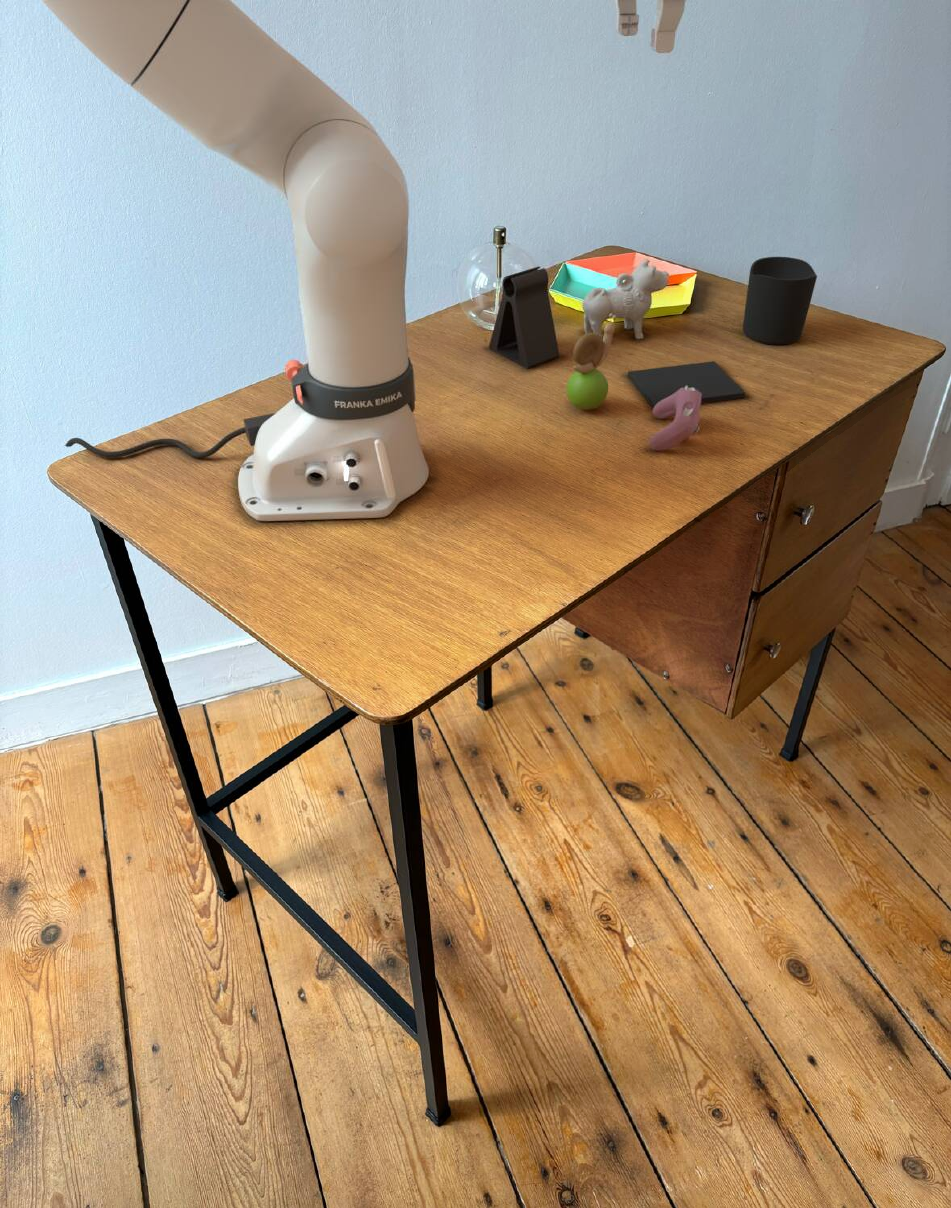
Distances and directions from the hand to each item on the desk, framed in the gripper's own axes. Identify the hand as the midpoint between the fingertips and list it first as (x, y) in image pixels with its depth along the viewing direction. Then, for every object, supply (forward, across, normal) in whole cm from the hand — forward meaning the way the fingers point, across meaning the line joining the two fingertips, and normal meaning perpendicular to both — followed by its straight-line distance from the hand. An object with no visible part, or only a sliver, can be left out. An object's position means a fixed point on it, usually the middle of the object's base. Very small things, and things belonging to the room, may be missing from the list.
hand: (643, 42), depth 93 cm
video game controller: (+44, +1, +8) cm, 45 cm away
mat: (+44, -11, +15) cm, 47 cm away
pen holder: (+44, -24, +34) cm, 60 cm away
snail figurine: (+44, -9, 0) cm, 45 cm away
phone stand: (+44, -26, -4) cm, 51 cm away
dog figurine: (+44, -30, +12) cm, 54 cm away
